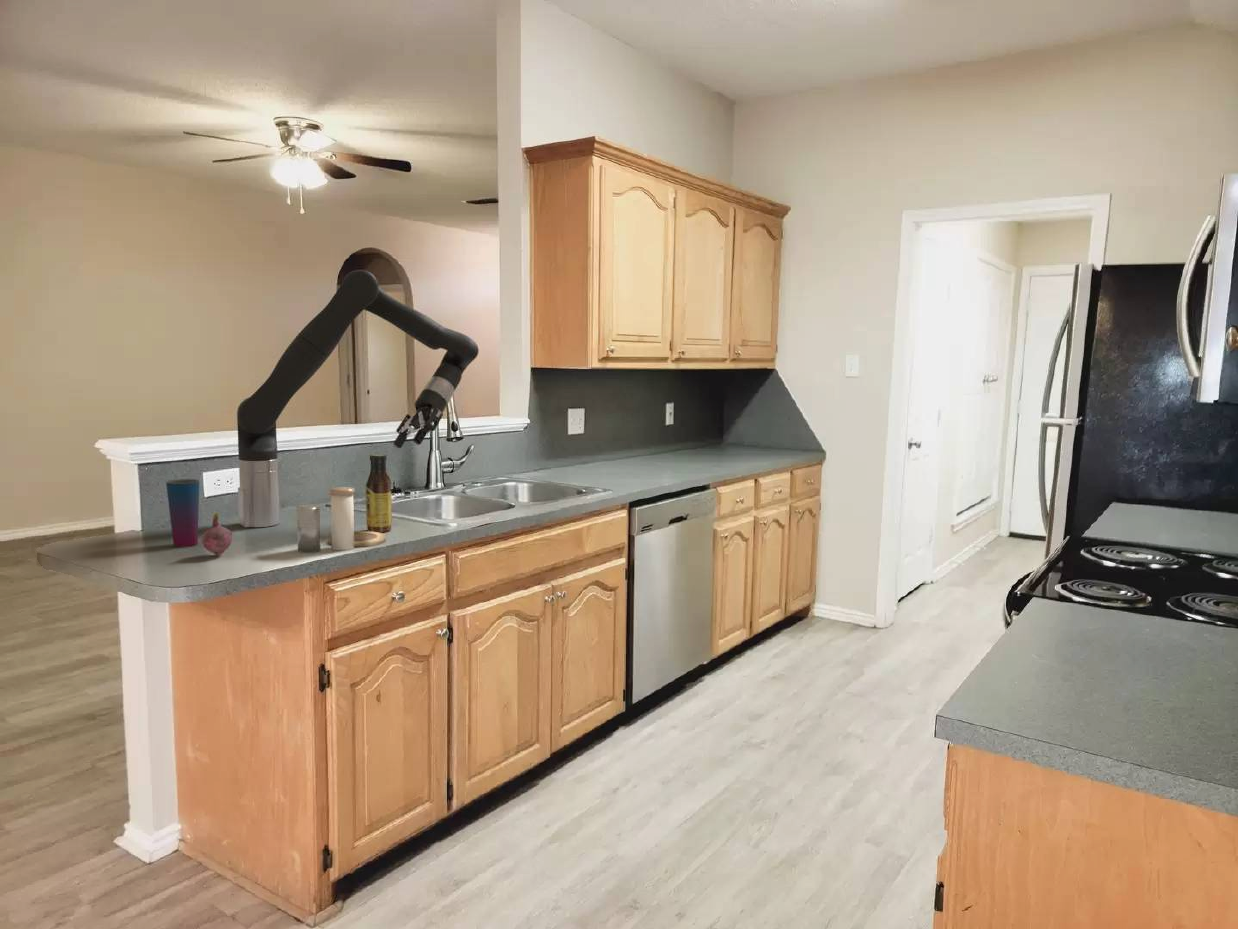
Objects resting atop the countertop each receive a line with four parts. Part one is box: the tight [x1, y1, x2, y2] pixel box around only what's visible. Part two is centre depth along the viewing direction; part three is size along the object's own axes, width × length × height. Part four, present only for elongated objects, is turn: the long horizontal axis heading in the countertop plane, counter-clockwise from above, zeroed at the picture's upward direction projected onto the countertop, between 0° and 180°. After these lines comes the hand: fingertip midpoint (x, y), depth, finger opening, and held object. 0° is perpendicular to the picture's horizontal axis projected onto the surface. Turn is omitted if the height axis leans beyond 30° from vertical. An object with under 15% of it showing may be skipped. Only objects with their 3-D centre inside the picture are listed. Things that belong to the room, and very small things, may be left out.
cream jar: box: [328, 486, 356, 552], centre depth 194 cm, size 6×6×14 cm
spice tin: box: [296, 504, 322, 553], centre depth 192 cm, size 5×5×10 cm
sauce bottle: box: [365, 452, 393, 533], centre depth 213 cm, size 7×6×20 cm
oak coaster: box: [328, 530, 387, 548], centre depth 203 cm, size 13×13×1 cm
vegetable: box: [201, 511, 234, 556], centre depth 185 cm, size 6×6×10 cm
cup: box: [165, 478, 200, 548], centre depth 194 cm, size 7×7×15 cm
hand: (406, 444), depth 216 cm, fingers open, 8 cm apart
